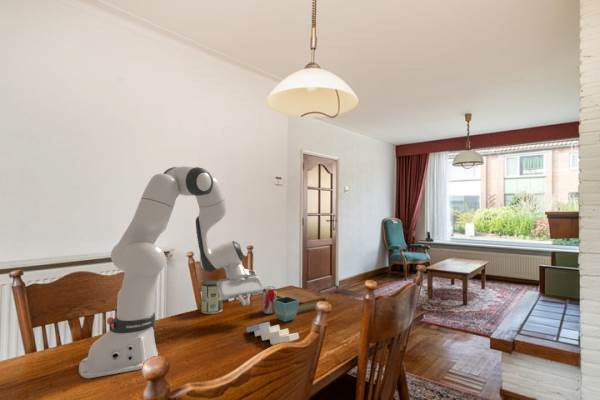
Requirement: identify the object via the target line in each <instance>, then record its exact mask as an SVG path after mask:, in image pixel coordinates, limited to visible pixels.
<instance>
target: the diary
mask: <svg viewBox="0 0 600 400" xmlns="http://www.w3.org/2000/svg"><path fill="white" fill-rule="evenodd" d="M283 297H291V298H294V299H297V300H299V305H298V311H297V314H296V315H299V314H300V315H301V314H304V313H307V311H308V312H311V311H315V310H314V309H315V305H316V303H317V302H319V301H326V302H327V299H326V297H325V296H322V295H321V296H320V295H318V294H315V293H312V292H309V291H306V290H303V289H301V288H292V289H287V290H282V291H277V299H278V298H283Z"/></svg>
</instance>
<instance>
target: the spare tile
mask: <svg viewBox="0 0 600 400" xmlns="http://www.w3.org/2000/svg"><path fill="white" fill-rule="evenodd" d="M268 327H271V323H270V321H267V322H262V323H259V324H254V325H251V326H247V327H246V333H253V332H254V331H257V330H261V329H264V328H268Z"/></svg>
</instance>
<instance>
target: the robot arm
mask: <svg viewBox="0 0 600 400" xmlns="http://www.w3.org/2000/svg"><path fill="white" fill-rule="evenodd" d="M180 195H182V196H185V197H186V196H189V197H190V196H192V197H193V196H195V199H196V201H197V202H196V203H197V204H198V209H199V213H198V216H197V217H196V218H195V229H196V230H195V231H196V236H197V237H196V238H197V243H198V248H199V264H200V266H201V268H202V269H203V271H205V272H207V273H214V272H215V271H218V270H219V269H222V268H223V269H224V270H225V276H226V278H222V279H220V278H219V279H217V280H218V281H217V283H216V284H217V287H218V289H219V296H220V299H222V300H223V301H225V300H230V299H237V300H238V301H239V302H240V303H241V305H242V306H248V305H250V304H251V301H250V298H251V296H257V295H262V292H263V289H264V287H265V286H264V284H263V282H262V280H261V278H260V276H257V275H258V272H257V271H256V270H251V269H247V268H245V267H244V265H243V260H244V256H245V255H244V252H243V251H242V249H241V245H240V243H238V242H236V241H234V240H232V241H231V240H230V241H227V242H225V243H222V244H219V245H217V246H214V247H211V248H209V243H208V232H209V230H211V228H212V227H214V225H216V224H217V223H218V222H221V220H222V219H223V218H224V216H225V215H226V213H227V210H228V207H227V202H226V198H225V194H224V192H223V190H222V188H221V186H220V183H219V181H218V179H217V178H216V177H215V176H214V175H212V174H210V172H209V170H206V169H205V168H202V167H198V166H196V167H194V166H174V167H173V166H172V167H170V168H167V169H166V170H165V171H164V172H162V173H157V174H154V175H153V176H152V177H151V178H150V179H149V181H148V183H147V184H146V187H145V189H144V190H143V193H142V195H141V198H140V199H139V203H138V205H137V208H136V209H135V213H134V215H133V218H132V219H131V222H130V223H129V225H128V227H127V228H126V230H125V231H124V233H123V235H122V237H121V238H120V240H119V242H117V244H116V245H115V246H114V247H113V248H112V250H111V251H110V259H111V261H112V263H113V265H114V266H115V267H116V268H117V269H118V270H120V271H122V272H123V274H124V275H123V280H122V284H121V287H120V290H119V291H118V292H117V299H116V300H117V301H116V303H117V304H116V306H117V307H116V316H115V317H114V318H113V317H112V316H109V317H108V318H107V319H106V323H107V325H108V326H109V327H108V329H109V330H108V331H106V332H105V333H104V334H103V335H102V336H100V337H99V338H97V340H95V341H94V342H93V343H92V344H91V346H90V347H89V351H88V354H87V357H85V358H84V359H82V360H81V361H80V362H79V365H78V374H79V375H80V376H81V377H82V378H85V379H93V378H99V377H103V376H109V375H116V374H119V373H120V374H121V373H126V372H132V371H137V370H141V369H143V368H142V366H143V363H144V362H145V361H146V360H147V359H149V358H151V357H153V356H157V357H158V355H159V352H158V348H157V345H156V340H155V329H156V328H155V327H156V313H155V312H154V311H155V310H154V309H155V292H156V291H155V290H156V286H157V282H158V277H159V275H160V273H161V272H162V271H163V269H164V267H165V265H166V262H167V261H166V254H165V253H164V250H162V249H161V248H160V247H159V246H157V245H156V244H155V243H156V241H157V240H158V239H159V237H160V236H161V234H162V233H163V232H164V231H166V229H167V227H168V223H169V221H170V218H171V215H172V213H173V210H174V207H175V204H176V200H177V198H178V197H179V196H180ZM244 297H245V299H244Z"/></svg>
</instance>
